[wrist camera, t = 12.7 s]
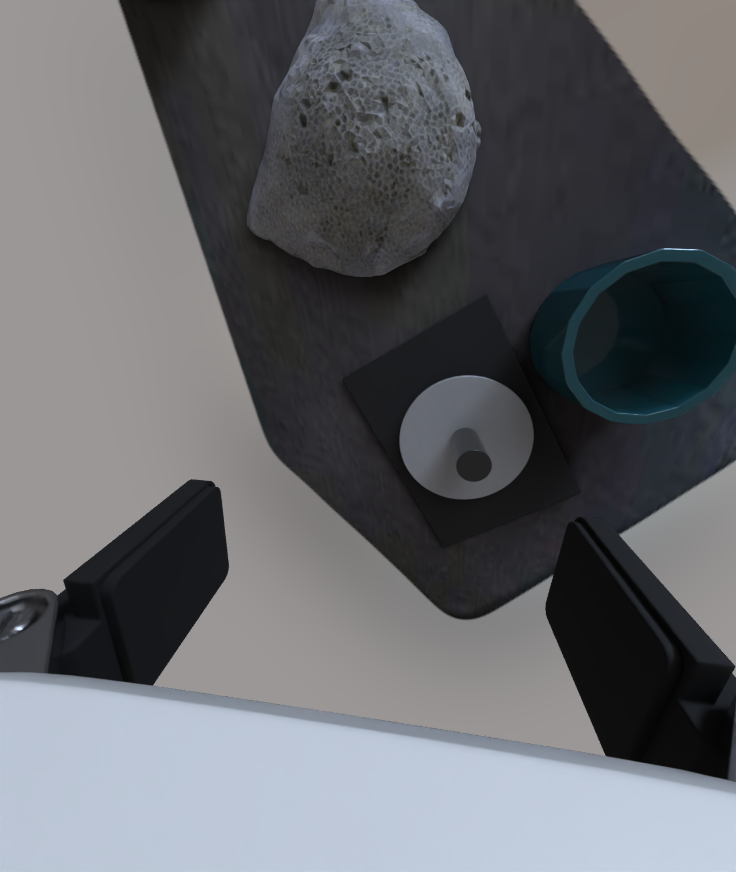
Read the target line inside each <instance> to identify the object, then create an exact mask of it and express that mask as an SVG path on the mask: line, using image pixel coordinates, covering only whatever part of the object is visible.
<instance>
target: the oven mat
mask: <svg viewBox="0 0 736 872" xmlns="http://www.w3.org/2000/svg"><path fill="white" fill-rule="evenodd" d="M462 375H475V376H482V377H486V378H490V379H493V380H495V381H498V382H500V383H502V384H503V385H505V386H506V387H508V388H509V389H510V390H512V391H513V392H514V393H515V394H516V395H517V396H518V397H519V398H520V399H521V400H522V402H523V403H524V405H525V406H526V408H527V410H528V412H529V414H530V417H531V420H532V424H533V430H534V440H533V447H532V451H531V454H530V457H529V459H528V461H527V463H526V465H525V467H524V468H523V470H522V471H521V472H520V474H519V475H518V476H517V477H516V478H515V479H514V480H513V481H512V482H511V483H510V484H508V485H507V486H505V487H504V488H502V489H501V490H499V491H497V492H495V493H493V494H490V495H488V496H484V497H481V498H475V499H453V498H447V497H444V496H440V495H438V494H436V493H433V492H431V491H430V490H428V489H426V488H425V487H424V486H422V485H421V484H420V483H419V482H418V481H416V480H415V479H414V477H413V476H412V475H411V474H410V472H409V471H408V469H407V467H406V466H405V463H404V461H403V459H402V455H401V451H400V444H399V440H400V429H401V424H402V421H403V418H404V416H405V413H406V411H407V410H408V408H409V406H410V405H411V403H412V402H413V401H414V400H415V399H416V397H417V396H418V395H419V394H421V393H422V392H423V391H424V390H425V389H427V388H428V387H430V386H431V385H433V384H435V383H437V382H439V381H441V380H444V379H447V378H451V377H455V376H462ZM343 381H344V383H345V384H346V386H347V388H348V389H349V391H350V393H351V394H352V396H353V398H354V399H355V401H356V403H357V404H358V406H359V408H360V409H361V411H362V413H363V414H364V416H365V417H366V419H367V421H368V422H369V424H370V426H371V427H372V429H373V431H374V432H375V434H376V436H377V437H378V439H379V441H380V442H381V444H382V446H383V447H384V449H385V451H386V452H387V454H388V455H389V457H390V459H391V460H392V462H393V464H394V465H395V467H396V469H397V470H398V472H399V474H400V475H401V477H402V479H403V480H404V482H405V484H406V485H407V487H408V489H409V490H410V492H411V493H412V495H413V497H414V498H415V500H416V502H417V503H418V505H419V507H420V508H421V510H422V512H423V513H424V515H425V517H426V518H427V520H428V522H429V523H430V525H431V527H432V528H433V530H434V531H435V533H436V535H437V536H438V538H439V540H440V541H441V543H442V545H443V546H444V547H447V546H449V545H452V544H454V543H457V542H459V541H462V540H464V539H467V538H469V537H472V536H474V535H477V534H479V533H481V532H484V531H486V530H489V529H491V528H494V527H496V526H499V525H501V524H504V523H506V522H509V521H511V520H514V519H516V518H519V517H521V516H523V515H526V514H528V513H531V512H533V511H536V510H538V509H541V508H543V507H546V506H548V505H551V504H553V503H556V502H558V501H561V500H563V499H565V498H568V497H570V496H573V495H575V494H578V493H580V492H581V490H580V488H579V486H578V484H577V482H576V480H575V478H574V476H573V474H572V471H571V469H570V467H569V465H568V463H567V461H566V459H565V457H564V455H563V453H562V450H561V448H560V446H559V444H558V442H557V440H556V438H555V436H554V434H553V432H552V429H551V427H550V425H549V423H548V421H547V419H546V417H545V415H544V413H543V411H542V409H541V406H540V404H539V402H538V400H537V398H536V396H535V394H534V392H533V390H532V388H531V385H530V383H529V381H528V379H527V377H526V375H525V373H524V371H523V369H522V367H521V365H520V362H519V360H518V358H517V356H516V354H515V352H514V350H513V348H512V346H511V344H510V341H509V339H508V337H507V335H506V333H505V331H504V329H503V327H502V325H501V323H500V320H499V318H498V316H497V314H496V312H495V310H494V308H493V306H492V304H491V302H490V300H489V297H488V295H487V294H485V295H484V296H482V297H480V298H478V299H477V300H475V301H473V302H472V303H470V304H468V305H467V306H465V307H463V308H462V309H460V310H458V311H457V312H455V313H453V314H451V315H450V316H448V317H446V318H445V319H443V320H441V321H440V322H438V323H436V324H435V325H433V326H431V327H429V328H428V329H426V330H424V331H423V332H421V333H419V334H418V335H416V336H414V337H413V338H411V339H409V340H407V341H406V342H404V343H402V344H401V345H399V346H397V347H396V348H394V349H392V350H391V351H389V352H387V353H386V354H384V355H382V356H380V357H379V358H377V359H375V360H374V361H372V362H370V363H369V364H367V365H365V366H364V367H362V368H360V369H358V370H357V371H355V372H353V373H352V374H350V375H348V376H347V377H345V378H343Z"/></svg>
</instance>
